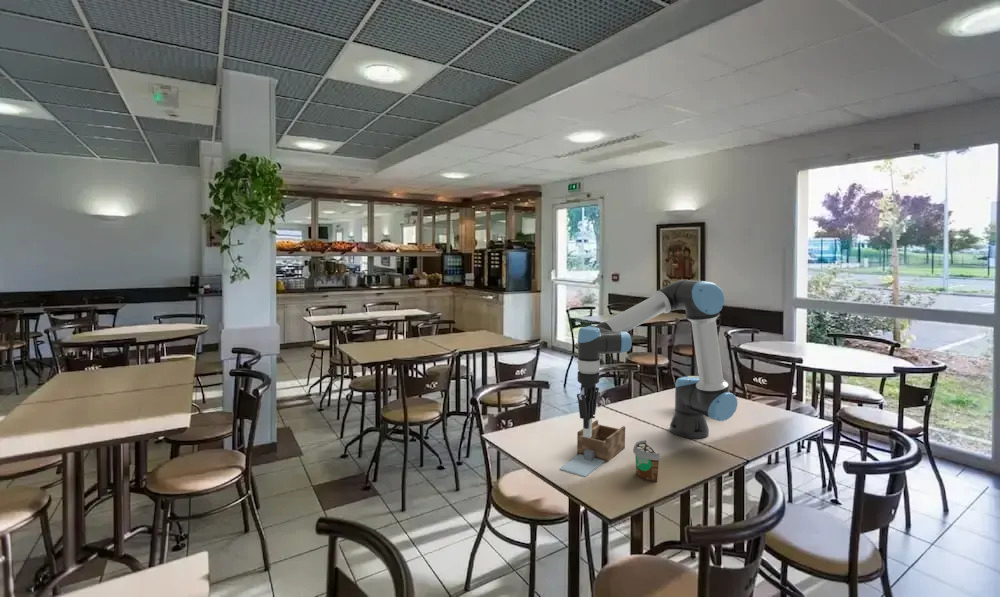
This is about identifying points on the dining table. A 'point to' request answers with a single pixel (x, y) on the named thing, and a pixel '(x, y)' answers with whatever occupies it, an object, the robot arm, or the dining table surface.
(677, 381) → the robot arm
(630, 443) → the dining table surface
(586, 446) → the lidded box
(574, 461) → the cover plate
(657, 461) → the food container
